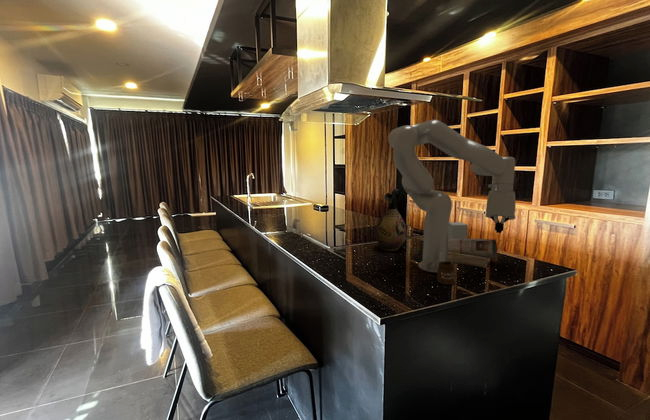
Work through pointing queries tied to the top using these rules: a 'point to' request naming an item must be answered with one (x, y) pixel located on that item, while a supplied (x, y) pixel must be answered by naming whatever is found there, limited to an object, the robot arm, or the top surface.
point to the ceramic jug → (391, 225)
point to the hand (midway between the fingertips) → (498, 232)
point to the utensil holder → (446, 271)
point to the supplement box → (457, 230)
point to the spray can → (474, 247)
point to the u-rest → (468, 260)
